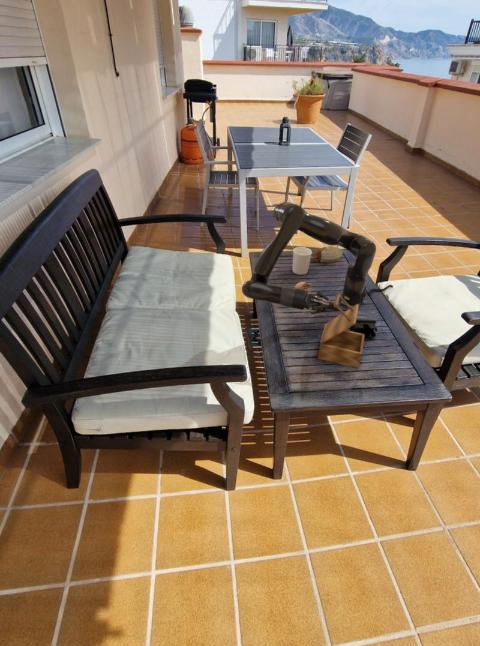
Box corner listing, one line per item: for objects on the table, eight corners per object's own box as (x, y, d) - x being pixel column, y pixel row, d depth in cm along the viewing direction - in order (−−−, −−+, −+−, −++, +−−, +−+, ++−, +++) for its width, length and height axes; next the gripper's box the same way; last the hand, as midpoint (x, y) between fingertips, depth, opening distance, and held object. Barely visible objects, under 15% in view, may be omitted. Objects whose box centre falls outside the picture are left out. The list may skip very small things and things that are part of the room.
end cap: (370, 329, 170) (374, 316, 166) (375, 339, 164) (379, 326, 160) (348, 328, 169) (351, 316, 165) (351, 339, 163) (355, 326, 160)
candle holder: (309, 276, 206) (312, 255, 199) (291, 275, 205) (293, 254, 199) (308, 267, 214) (310, 247, 207) (290, 266, 214) (292, 246, 207)
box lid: (358, 305, 149) (342, 287, 147) (355, 323, 139) (337, 305, 137) (326, 325, 158) (310, 308, 156) (321, 344, 148) (304, 326, 146)
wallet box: (360, 348, 159) (364, 334, 155) (357, 368, 149) (361, 354, 145) (323, 339, 162) (325, 325, 158) (317, 358, 153) (320, 344, 148)
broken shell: (315, 302, 186) (306, 294, 179) (296, 306, 191) (287, 298, 184) (314, 285, 190) (306, 277, 182) (296, 289, 195) (287, 281, 188)
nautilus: (305, 266, 215) (302, 255, 228) (344, 265, 215) (339, 254, 228) (306, 253, 211) (303, 242, 224) (346, 252, 211) (340, 241, 224)
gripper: (290, 298, 141) (338, 308, 137) (298, 281, 151) (343, 290, 148) (288, 315, 145) (334, 325, 141) (296, 297, 156) (339, 306, 152)
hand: (338, 307), depth 144 cm, fingers closed
